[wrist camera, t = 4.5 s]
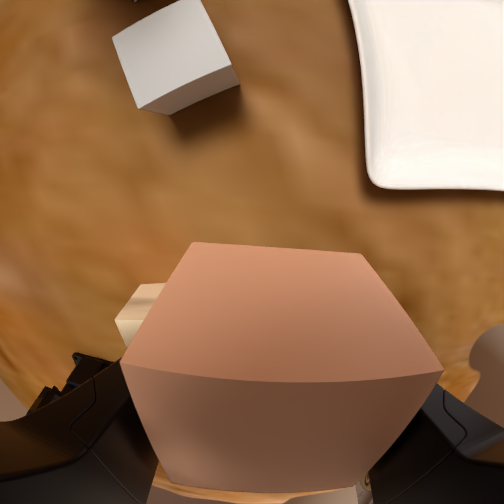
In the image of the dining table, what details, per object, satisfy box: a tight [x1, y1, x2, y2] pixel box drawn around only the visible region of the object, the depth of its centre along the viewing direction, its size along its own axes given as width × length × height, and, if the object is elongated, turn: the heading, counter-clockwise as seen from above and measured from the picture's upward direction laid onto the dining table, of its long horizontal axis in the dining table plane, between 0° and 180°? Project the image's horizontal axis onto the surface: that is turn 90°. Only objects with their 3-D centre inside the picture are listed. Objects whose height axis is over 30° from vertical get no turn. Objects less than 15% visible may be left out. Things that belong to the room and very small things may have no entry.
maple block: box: [115, 283, 166, 348], centre depth 20 cm, size 5×5×5 cm
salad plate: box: [348, 0, 504, 191], centre depth 11 cm, size 21×21×3 cm
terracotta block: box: [120, 242, 444, 493], centre depth 7 cm, size 5×5×5 cm
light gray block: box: [112, 0, 240, 115], centre depth 13 cm, size 5×5×5 cm
